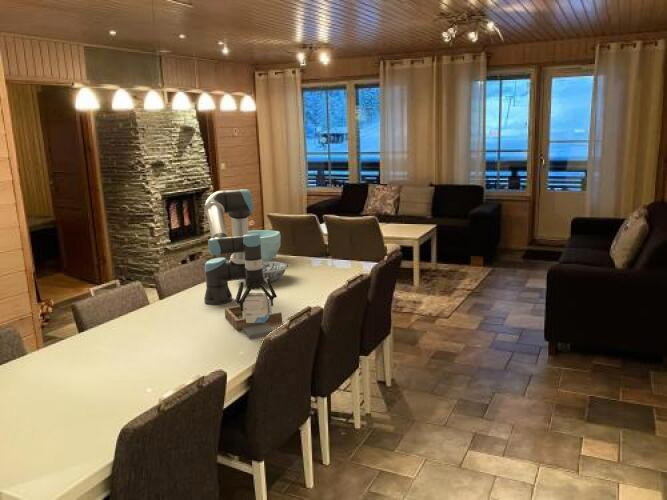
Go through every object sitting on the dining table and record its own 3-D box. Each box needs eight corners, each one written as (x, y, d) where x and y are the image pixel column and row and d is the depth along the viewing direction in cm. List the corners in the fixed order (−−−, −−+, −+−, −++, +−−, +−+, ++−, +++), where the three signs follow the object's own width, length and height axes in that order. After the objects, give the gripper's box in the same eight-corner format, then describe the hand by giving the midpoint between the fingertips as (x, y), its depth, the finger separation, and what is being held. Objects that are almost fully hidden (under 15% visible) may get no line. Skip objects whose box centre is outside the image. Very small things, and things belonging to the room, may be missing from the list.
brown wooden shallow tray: (225, 317, 281) (224, 308, 280) (267, 310, 290) (267, 301, 289) (237, 331, 261) (236, 320, 260) (282, 323, 269) (281, 313, 268)
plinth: (242, 331, 260) (241, 327, 260) (267, 326, 265) (266, 322, 264) (249, 339, 249) (249, 335, 249) (275, 334, 254) (275, 330, 254)
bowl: (238, 260, 415) (235, 231, 411) (285, 258, 414) (283, 229, 409) (227, 271, 381) (225, 239, 376) (279, 269, 379) (277, 237, 375)
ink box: (269, 317, 259) (267, 289, 256) (263, 323, 251) (261, 294, 248) (251, 317, 261) (249, 289, 258) (245, 322, 253) (243, 294, 250)
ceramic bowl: (301, 277, 356) (300, 262, 354) (266, 291, 327) (265, 274, 325) (259, 272, 374) (258, 257, 372) (222, 285, 346) (221, 269, 344)
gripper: (229, 273, 243) (233, 322, 247) (282, 266, 252) (284, 313, 257) (225, 270, 250) (229, 317, 254) (276, 263, 259) (279, 309, 263)
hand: (257, 315), depth 255 cm, fingers closed on ink box, 11 cm apart
